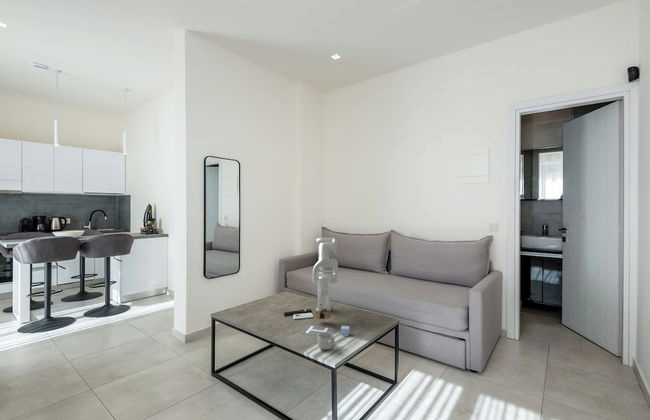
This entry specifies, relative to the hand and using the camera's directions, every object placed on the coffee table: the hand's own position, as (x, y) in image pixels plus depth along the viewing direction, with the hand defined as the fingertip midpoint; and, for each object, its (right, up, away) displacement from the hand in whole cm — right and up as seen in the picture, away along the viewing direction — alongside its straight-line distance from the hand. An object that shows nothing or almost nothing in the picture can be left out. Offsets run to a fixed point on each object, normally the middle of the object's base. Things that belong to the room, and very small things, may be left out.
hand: (323, 317), depth 228 cm
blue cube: (+15, -5, -19) cm, 25 cm away
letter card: (-4, -5, -13) cm, 14 cm away
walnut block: (0, 0, 0) cm, 0 cm away
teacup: (+2, -6, -39) cm, 40 cm away
